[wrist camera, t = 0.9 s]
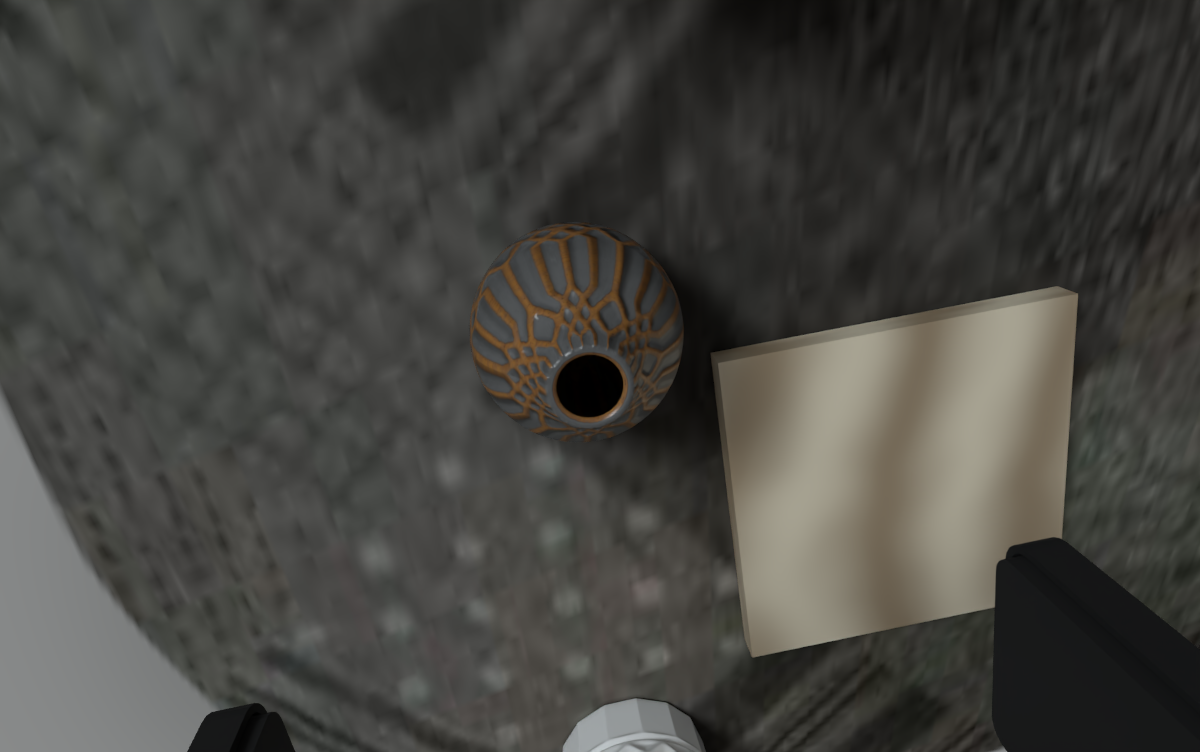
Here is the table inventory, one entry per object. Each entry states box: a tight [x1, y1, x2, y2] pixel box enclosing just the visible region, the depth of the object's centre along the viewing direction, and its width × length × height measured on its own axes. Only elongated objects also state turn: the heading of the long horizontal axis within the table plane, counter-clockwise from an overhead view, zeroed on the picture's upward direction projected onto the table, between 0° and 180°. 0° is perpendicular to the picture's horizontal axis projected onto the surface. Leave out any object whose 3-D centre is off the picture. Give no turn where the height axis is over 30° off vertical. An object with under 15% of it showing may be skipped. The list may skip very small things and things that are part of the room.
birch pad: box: [711, 286, 1078, 657], centre depth 32 cm, size 14×14×1 cm
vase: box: [470, 222, 684, 442], centre depth 24 cm, size 7×7×9 cm
